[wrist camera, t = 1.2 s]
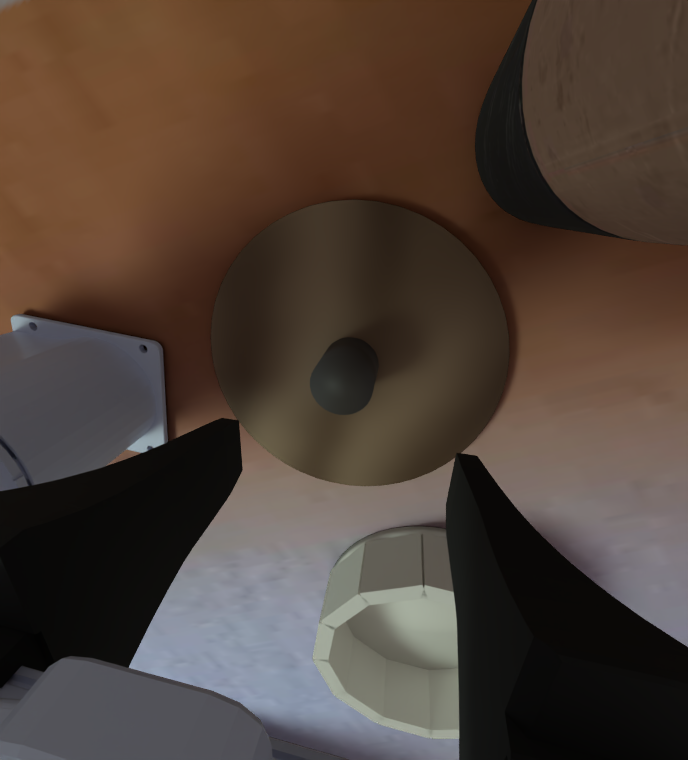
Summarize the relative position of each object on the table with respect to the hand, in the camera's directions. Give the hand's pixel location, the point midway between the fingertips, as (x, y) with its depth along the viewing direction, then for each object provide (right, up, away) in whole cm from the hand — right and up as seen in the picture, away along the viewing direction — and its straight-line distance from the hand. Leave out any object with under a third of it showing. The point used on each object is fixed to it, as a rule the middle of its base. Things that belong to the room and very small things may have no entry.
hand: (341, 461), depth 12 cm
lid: (+1, +4, +9) cm, 10 cm away
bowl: (+6, -13, +15) cm, 21 cm away
